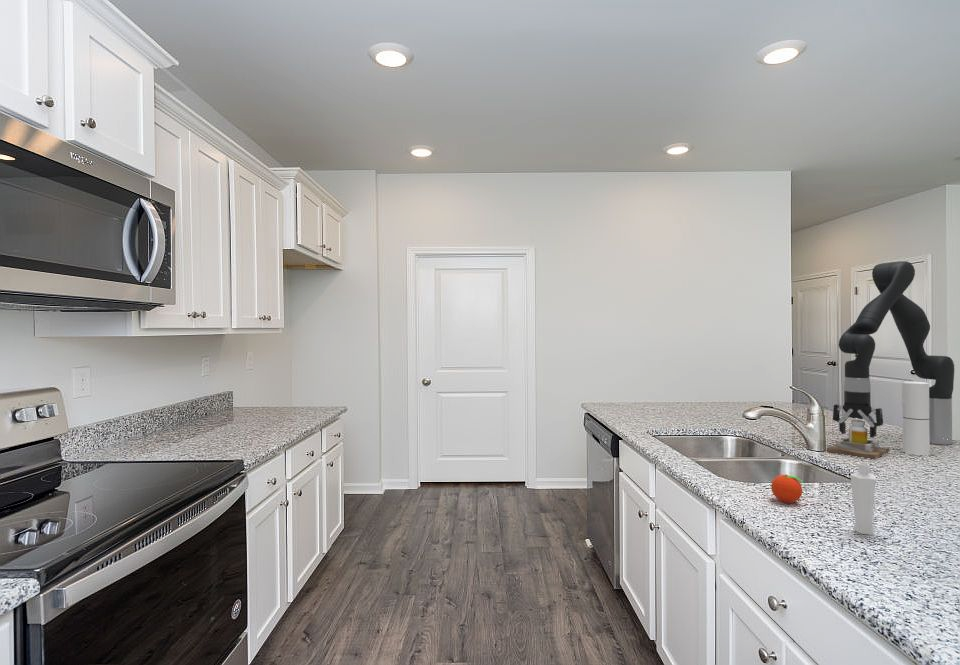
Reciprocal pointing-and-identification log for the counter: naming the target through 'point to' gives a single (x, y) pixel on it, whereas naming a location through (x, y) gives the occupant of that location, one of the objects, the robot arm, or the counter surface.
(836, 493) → the counter surface
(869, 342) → the robot arm
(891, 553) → the counter surface
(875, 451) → the socket board
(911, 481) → the counter surface
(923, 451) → the cylindrical container
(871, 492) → the perfume bottle
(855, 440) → the supplement bottle
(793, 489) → the clementine
